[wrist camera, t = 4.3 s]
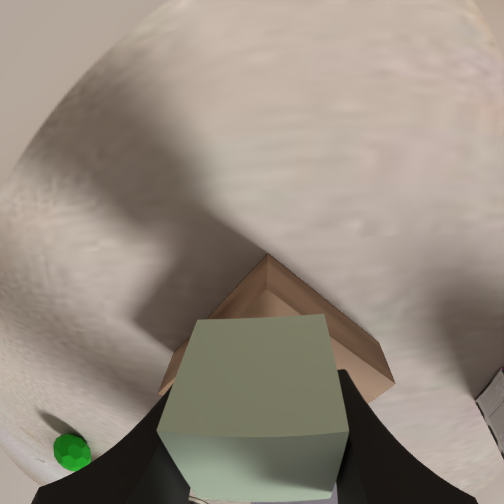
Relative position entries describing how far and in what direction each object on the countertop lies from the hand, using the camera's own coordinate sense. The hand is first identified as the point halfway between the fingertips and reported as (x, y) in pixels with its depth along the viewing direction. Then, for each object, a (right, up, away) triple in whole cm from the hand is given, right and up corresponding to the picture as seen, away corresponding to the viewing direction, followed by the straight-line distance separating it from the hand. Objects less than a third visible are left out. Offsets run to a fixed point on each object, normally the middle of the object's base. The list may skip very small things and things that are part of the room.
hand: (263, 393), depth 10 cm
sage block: (0, +1, +1) cm, 1 cm away
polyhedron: (-22, -18, +18) cm, 34 cm away
